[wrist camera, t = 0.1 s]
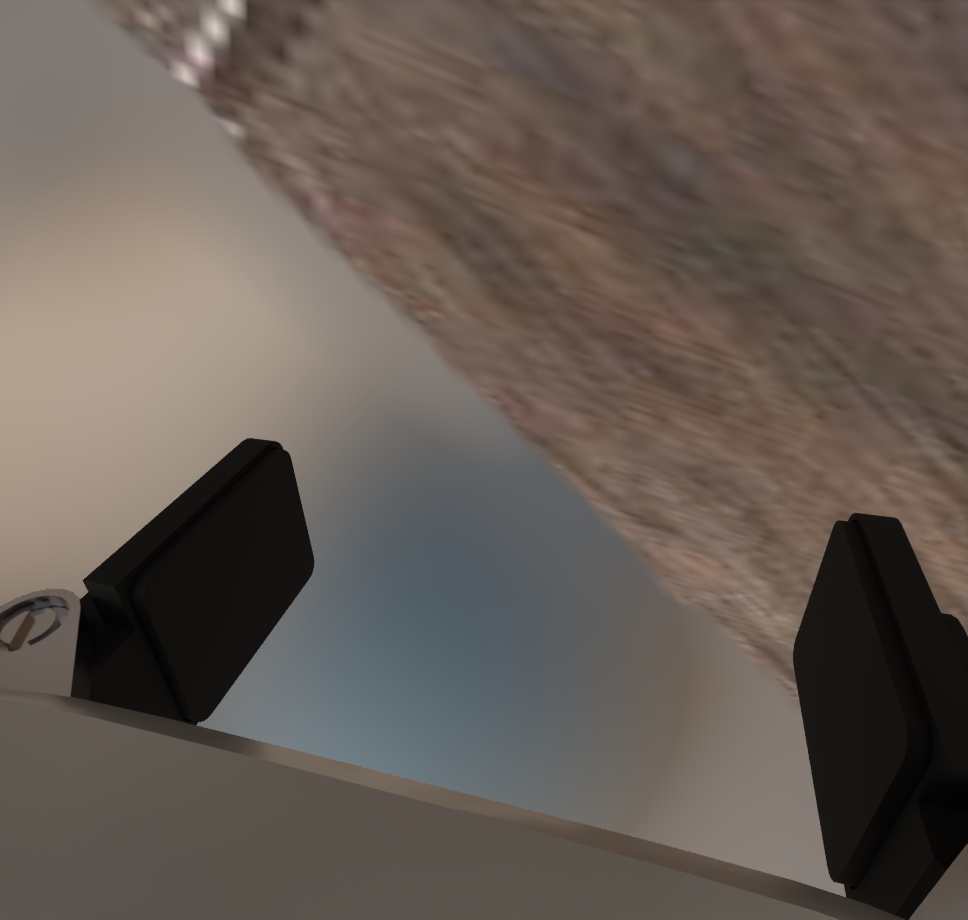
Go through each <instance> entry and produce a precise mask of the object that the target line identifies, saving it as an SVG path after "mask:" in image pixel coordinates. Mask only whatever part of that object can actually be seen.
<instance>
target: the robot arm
mask: <svg viewBox="0 0 968 920" xmlns="http://www.w3.org/2000/svg"><path fill="white" fill-rule="evenodd" d="M313 568H314V556H313V552H312V547H311V543H310V539H309V535H308V530H307V526H306V522H305V517H304V513H303V509H302V504H301V500H300V496H299V492H298V487H297V482H296V478H295V474H294V469H293V465H292V461H291V457H290V455H289V453H288V452H287V451H285V450H283V447H282V446H281V444H280V443H278V442H276V441H269V440H261V439H253V438H249V439H246V440H244V441H242V442H241V443H240V444H239V445H238V446H237V447H236V448H234V449H233V450H232V451H231V452H230V453H228V454H227V455H226V456H225V457H224V458H223V459H222V460H221V461H219V462H218V463H217V464H216V465H215V466H214V467H212V468H211V469H210V470H209V471H208V472H207V473H205V475H203V476H202V477H201V478H200V479H199V480H197V481H196V482H195V483H194V484H193V485H192V486H191V487H189V488H188V489H187V490H186V491H185V492H184V493H182V494H181V495H180V496H179V497H178V498H177V499H176V500H174V501H173V502H172V503H171V504H170V505H169V506H168V507H167V508H165V509H164V510H163V511H162V512H161V513H160V514H158V515H157V516H156V517H155V518H154V519H153V520H152V521H150V522H149V523H148V524H147V525H146V526H145V527H144V528H142V529H141V530H140V531H139V532H138V533H136V534H135V535H134V536H133V537H132V538H131V539H130V540H129V541H127V542H126V543H125V544H124V545H123V546H122V547H121V548H119V549H118V550H117V551H116V552H115V553H114V554H112V555H111V556H110V557H109V558H108V559H107V560H105V561H104V562H103V563H102V564H101V565H100V566H99V567H98V568H96V569H95V570H94V571H93V572H92V573H91V574H89V575H88V576H87V577H86V578H85V579H84V580H83V582H84V584H85V586H86V588H87V590H88V593H87V594H86V595H85V596H84V597H83V598H81V599H79V598H78V597H77V596H76V595H75V594H74V593H73V592H71V591H68V590H64V589H46V590H41V591H36V592H32V593H29V594H26V595H23V596H20V597H18V598H15V599H14V600H12V601H10V602H8V603H6V604H4V605H2V606H0V920H968V636H967V634H966V632H965V630H964V628H963V626H962V625H961V623H960V622H959V620H958V619H957V618H955V617H954V616H952V615H950V614H943V613H941V612H940V609H939V607H938V605H937V603H936V600H935V598H934V596H933V594H932V592H931V589H930V587H929V585H928V583H927V580H926V578H925V576H924V574H923V571H922V569H921V567H920V565H919V562H918V560H917V558H916V556H915V553H914V551H913V549H912V547H911V544H910V542H909V540H908V538H907V536H906V533H905V531H904V529H903V527H902V524H901V523H900V521H899V520H898V519H896V518H893V517H885V516H877V515H868V514H860V513H854V514H852V515H851V517H850V518H849V520H848V521H840V520H839V521H837V522H836V523H835V525H834V527H833V530H832V533H831V536H830V539H829V542H828V545H827V548H826V551H825V554H824V557H823V560H822V563H821V565H820V568H819V571H818V574H817V577H816V580H815V583H814V586H813V589H812V592H811V595H810V598H809V601H808V604H807V607H806V610H805V613H804V616H803V619H802V622H801V625H800V628H799V631H798V634H797V637H796V640H795V644H794V650H793V664H794V671H795V677H796V682H797V688H798V694H799V700H800V706H801V712H802V718H803V724H804V730H805V736H806V742H807V747H808V754H809V760H810V765H811V771H812V777H813V784H814V789H815V796H816V801H817V807H818V813H819V819H820V825H821V831H822V837H823V843H824V849H825V855H826V861H827V866H828V871H829V874H830V877H831V879H832V880H833V882H837V883H842V884H844V887H845V892H846V897H843V896H840V895H837V894H834V893H831V892H828V891H824V890H821V889H818V888H815V887H812V886H809V885H806V884H803V883H799V882H796V881H793V880H789V879H786V878H782V877H778V876H775V875H771V874H768V873H764V872H761V871H757V870H753V869H750V868H746V867H742V866H739V865H735V864H732V863H728V862H724V861H721V860H717V859H714V858H710V857H706V856H703V855H699V854H696V853H692V852H688V851H685V850H681V849H678V848H674V847H670V846H666V845H663V844H659V843H655V842H651V841H647V840H644V839H640V838H636V837H632V836H628V835H624V834H620V833H616V832H613V831H609V830H605V829H601V828H597V827H593V826H590V825H586V824H582V823H578V822H574V821H570V820H567V819H563V818H559V817H555V816H551V815H547V814H544V813H540V812H536V811H532V810H528V809H524V808H520V807H517V806H513V805H509V804H505V803H501V802H497V801H493V800H489V799H485V798H481V797H478V796H474V795H470V794H466V793H462V792H458V791H454V790H450V789H446V788H443V787H438V786H435V785H431V784H427V783H423V782H419V781H415V780H411V779H407V778H403V777H399V776H395V775H391V774H388V773H384V772H379V771H376V770H372V769H368V768H363V767H360V766H356V765H352V764H348V763H344V762H339V761H336V760H332V759H328V758H324V757H320V756H316V755H312V754H308V753H305V752H301V751H297V750H292V749H288V748H285V747H280V746H276V745H272V744H268V743H264V742H260V741H256V740H252V739H248V738H244V737H240V736H236V735H232V734H228V733H224V732H220V731H216V730H212V729H208V728H204V727H200V726H196V725H197V723H198V722H202V721H204V720H206V719H207V718H208V717H209V716H210V715H211V714H212V712H213V711H214V710H215V709H216V707H217V706H218V704H219V703H220V702H221V700H222V699H223V697H224V696H225V695H226V693H227V692H228V690H229V689H230V688H231V686H232V685H233V684H234V682H235V681H236V679H237V678H238V677H239V675H240V674H241V673H242V671H243V670H244V668H245V667H246V666H247V664H248V663H249V661H250V660H251V659H252V657H253V656H254V654H255V653H256V652H257V650H258V649H259V648H260V646H261V645H262V644H263V642H264V641H265V639H266V638H267V637H268V635H269V634H270V632H271V631H272V630H273V628H274V627H275V626H276V624H277V623H278V621H279V620H280V619H281V617H282V616H283V614H284V613H285V611H286V610H287V609H288V607H289V606H290V605H291V603H292V602H293V601H294V599H295V598H296V596H297V595H298V594H299V592H300V591H301V589H302V588H303V587H304V585H305V584H306V583H307V581H308V580H309V578H310V577H311V575H312V572H313Z"/></svg>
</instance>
